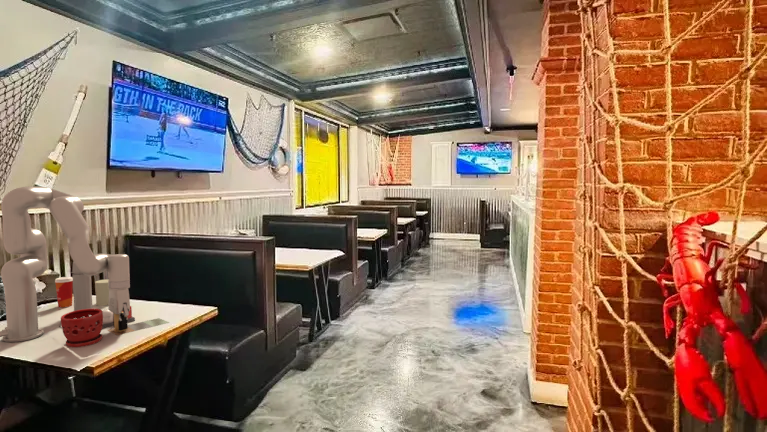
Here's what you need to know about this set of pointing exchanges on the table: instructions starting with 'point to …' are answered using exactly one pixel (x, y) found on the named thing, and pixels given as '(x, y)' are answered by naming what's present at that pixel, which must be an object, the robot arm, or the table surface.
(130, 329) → the game board
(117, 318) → the tan cylinder
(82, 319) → the plant pot
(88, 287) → the water bottle
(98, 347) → the table surface
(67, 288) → the paper cup
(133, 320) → the popper base
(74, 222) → the robot arm
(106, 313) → the dome
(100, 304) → the can
